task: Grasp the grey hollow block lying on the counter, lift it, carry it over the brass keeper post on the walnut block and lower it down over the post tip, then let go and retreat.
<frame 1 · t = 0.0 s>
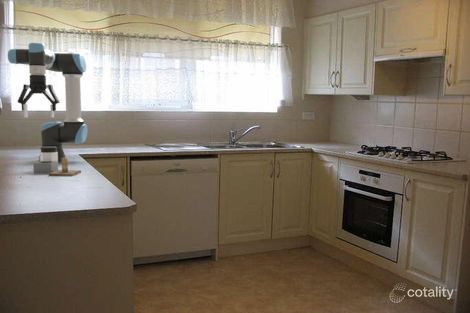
hand: (39, 117, 251), 28 cm above the countertop, fingers open, 13 cm apart
keeper: (65, 173, 250), on the countertop
jar: (49, 169, 265), on the countertop
grey hollow block: (46, 171, 256), on the countertop
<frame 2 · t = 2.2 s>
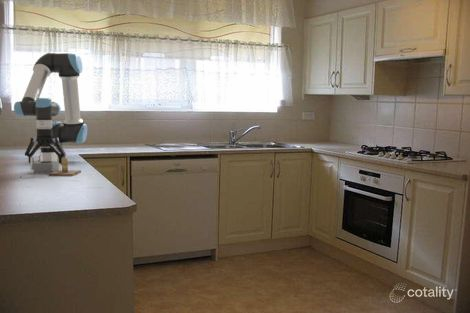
hand: (45, 169, 256), 1 cm above the countertop, fingers open, 13 cm apart
nothing on the countertop moved.
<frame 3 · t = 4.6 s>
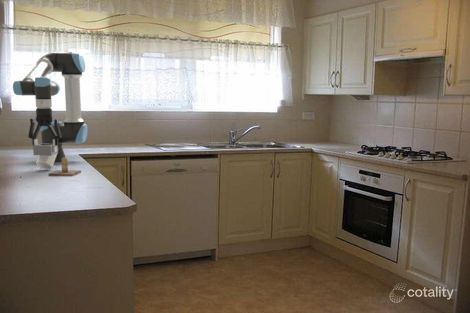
hand: (45, 151, 255), 10 cm above the countertop, fingers closed on grey hollow block, 9 cm apart
jar: (43, 166, 260), point 2 cm above the countertop
grey hollow block: (46, 154, 256), point 9 cm above the countertop, touching gripper
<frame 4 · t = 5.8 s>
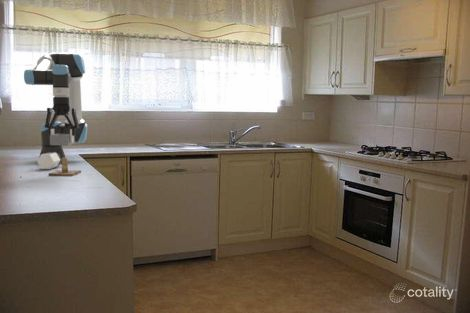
hand: (62, 142, 248), 16 cm above the countertop, fingers closed on grey hollow block, 9 cm apart
jar: (45, 161, 264), point 4 cm above the countertop
grey hollow block: (62, 144, 248), point 15 cm above the countertop, touching gripper
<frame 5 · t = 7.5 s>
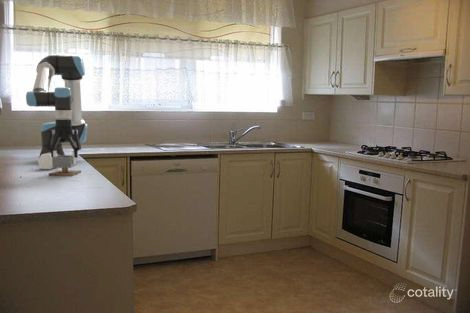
hand: (64, 164, 249), 5 cm above the countertop, fingers closed on grey hollow block, 9 cm apart
grey hollow block: (64, 166, 249), point 4 cm above the countertop, touching gripper
everything else where it was.
when the fingers open (3 cm above the countertop, at t = 8.8 s): grey hollow block stays where it is, resting on keeper.
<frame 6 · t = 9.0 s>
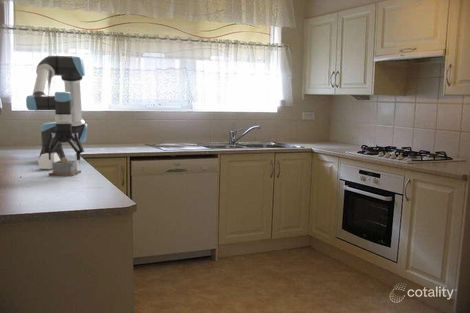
hand: (64, 166, 249), 4 cm above the countertop, fingers open, 11 cm apart
grey hollow block: (65, 171, 250), point 1 cm above the countertop, touching keeper
everything else where it was.
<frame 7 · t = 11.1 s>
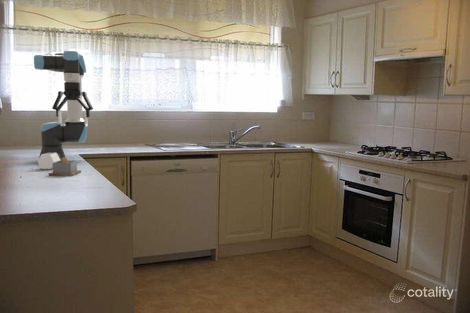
hand: (73, 123, 256), 25 cm above the countertop, fingers open, 13 cm apart
nothing on the countertop moved.
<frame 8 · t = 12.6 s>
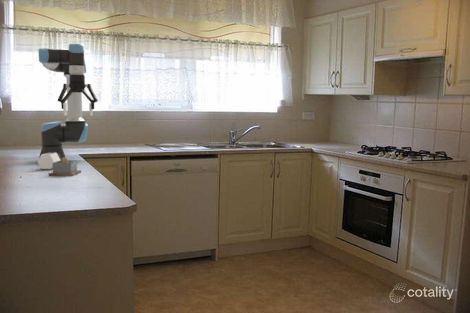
hand: (78, 115, 259), 29 cm above the countertop, fingers open, 13 cm apart
nothing on the countertop moved.
at the end: grey hollow block 0.2 cm off-centre on the keeper, point 1.0 cm above the keeper's base; the gripper is holding nothing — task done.
